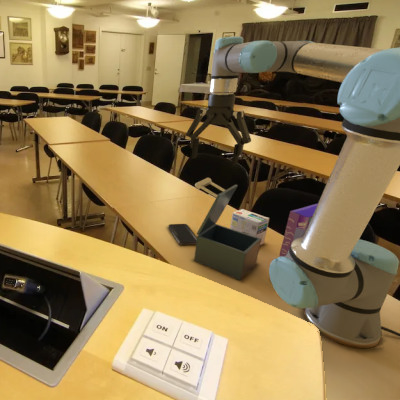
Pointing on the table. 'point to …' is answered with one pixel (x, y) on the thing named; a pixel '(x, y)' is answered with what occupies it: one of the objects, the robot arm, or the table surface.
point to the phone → (183, 234)
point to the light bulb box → (250, 224)
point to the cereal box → (296, 226)
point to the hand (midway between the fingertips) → (213, 161)
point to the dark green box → (227, 250)
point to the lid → (218, 204)
